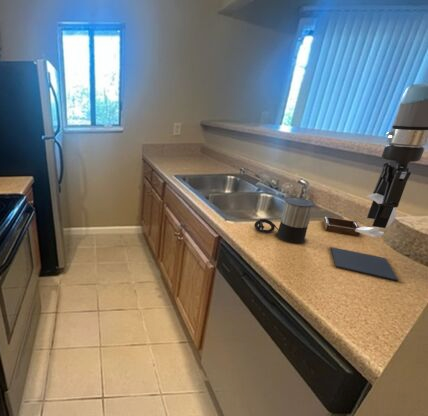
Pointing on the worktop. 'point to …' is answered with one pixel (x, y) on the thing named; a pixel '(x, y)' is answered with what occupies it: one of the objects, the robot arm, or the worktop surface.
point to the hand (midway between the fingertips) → (375, 222)
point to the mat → (363, 263)
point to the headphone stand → (374, 231)
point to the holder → (338, 228)
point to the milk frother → (291, 220)
